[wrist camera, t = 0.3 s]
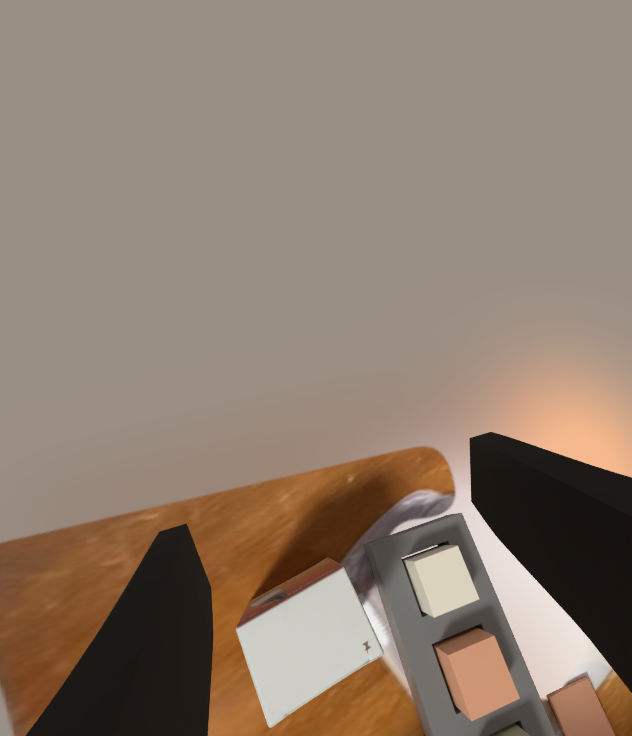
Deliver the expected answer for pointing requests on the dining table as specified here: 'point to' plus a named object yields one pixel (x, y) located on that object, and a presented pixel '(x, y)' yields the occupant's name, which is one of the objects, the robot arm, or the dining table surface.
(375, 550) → the keypad
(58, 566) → the dining table surface
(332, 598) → the small box
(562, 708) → the tile
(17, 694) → the dining table surface
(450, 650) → the key terracotta
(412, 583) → the key cream
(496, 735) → the key sage
